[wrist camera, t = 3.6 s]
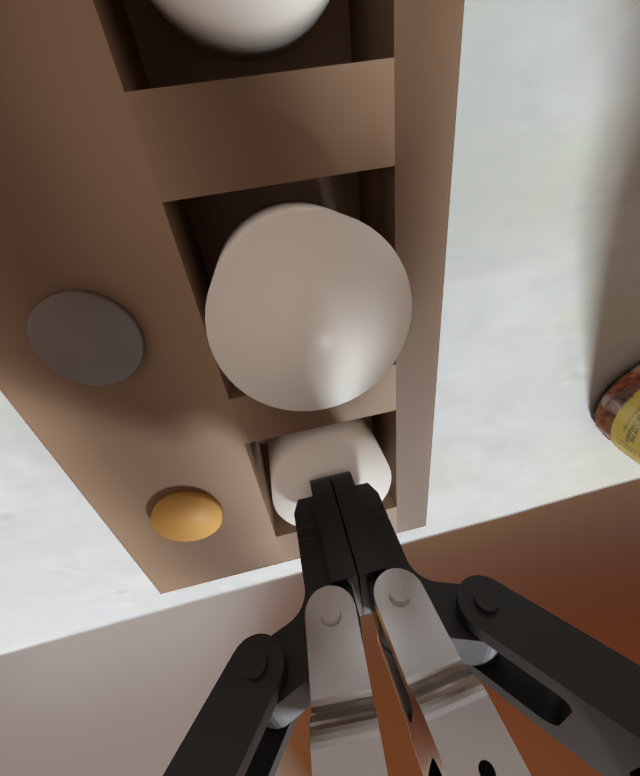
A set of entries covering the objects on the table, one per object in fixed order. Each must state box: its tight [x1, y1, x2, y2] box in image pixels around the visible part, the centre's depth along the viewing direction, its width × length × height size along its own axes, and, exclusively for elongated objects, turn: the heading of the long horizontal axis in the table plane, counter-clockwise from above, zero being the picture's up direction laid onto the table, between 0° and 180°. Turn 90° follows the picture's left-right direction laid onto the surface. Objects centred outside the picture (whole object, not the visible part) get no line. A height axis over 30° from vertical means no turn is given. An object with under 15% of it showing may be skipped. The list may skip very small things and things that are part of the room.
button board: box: [0, 0, 464, 594], centre depth 11 cm, size 12×23×5 cm, turn 7°
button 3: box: [268, 417, 391, 526], centre depth 13 cm, size 4×4×3 cm
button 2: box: [205, 200, 412, 411], centre depth 8 cm, size 4×4×3 cm
